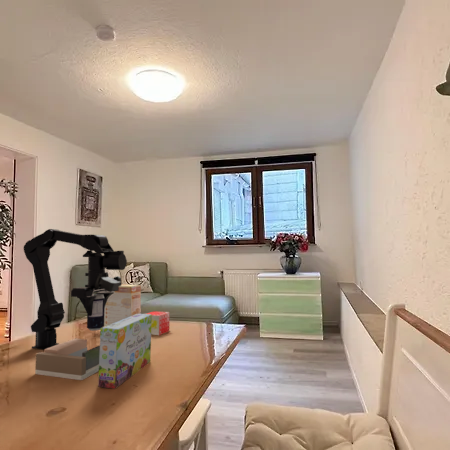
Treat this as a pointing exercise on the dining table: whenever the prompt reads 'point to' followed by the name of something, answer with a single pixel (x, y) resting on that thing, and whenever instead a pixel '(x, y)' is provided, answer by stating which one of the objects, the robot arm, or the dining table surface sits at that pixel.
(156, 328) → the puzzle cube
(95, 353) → the grey flat plate
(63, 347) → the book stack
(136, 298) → the coffeecake box
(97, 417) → the dining table surface
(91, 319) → the beverage can
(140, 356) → the snack box
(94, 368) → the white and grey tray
